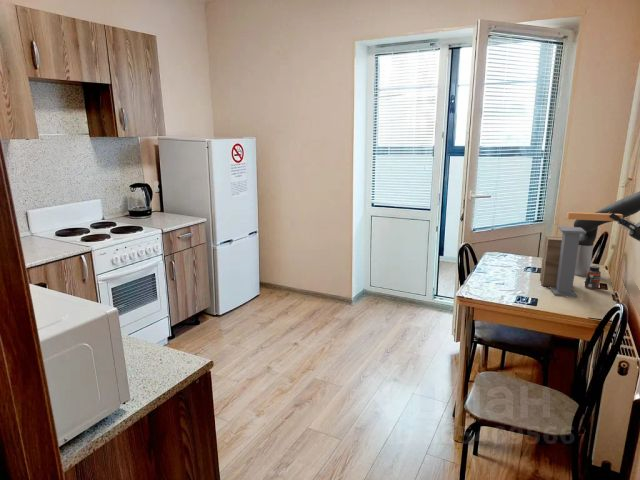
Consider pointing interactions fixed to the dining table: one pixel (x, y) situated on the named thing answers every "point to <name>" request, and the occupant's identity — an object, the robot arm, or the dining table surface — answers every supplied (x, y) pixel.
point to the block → (591, 216)
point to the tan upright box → (550, 260)
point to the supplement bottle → (593, 277)
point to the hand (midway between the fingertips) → (609, 214)
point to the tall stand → (567, 261)
